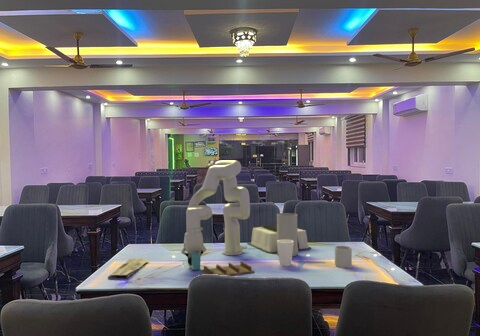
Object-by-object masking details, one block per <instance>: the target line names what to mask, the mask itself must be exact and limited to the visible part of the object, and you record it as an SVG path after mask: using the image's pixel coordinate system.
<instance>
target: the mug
mask: <svg viewBox="0 0 480 336" xmlns="http://www.w3.org/2000/svg"><path fill="white" fill-rule="evenodd" d="M352 251H353V250H352V247H351V246H348V245H336V246H334V266H335V267H338V268H343V269H344V268H345V269H346V268H347V269H348V268H351V267H352V266H353V265H352V264H353V263H352V262H353V261H352V259H353V258H352Z"/></svg>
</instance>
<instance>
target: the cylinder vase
mask: <svg viewBox="0 0 480 336" xmlns="http://www.w3.org/2000/svg"><path fill="white" fill-rule="evenodd" d="M276 225H277V240H292V241H294V246H293V252H292V258H293V257H296V256H297V255H298V253H299V251H298V239H297V228H298V214H297V213H293V212H291V213H290V212H286V213H284V212H281V213H276ZM276 254H277V255H278V247H277V253H276Z"/></svg>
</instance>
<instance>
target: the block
mask: <svg viewBox="0 0 480 336" xmlns="http://www.w3.org/2000/svg"><path fill="white" fill-rule="evenodd" d="M190 257H191V265H189V264H188V263H187V266H188V267H189V268H190V269H191V270H192V271H193V270H194V271H195V270H196V271H197V270H201V262H200V261H201V257H200V254H199V253H198V252H191V256H190Z"/></svg>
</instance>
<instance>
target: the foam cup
mask: <svg viewBox="0 0 480 336" xmlns="http://www.w3.org/2000/svg"><path fill="white" fill-rule="evenodd" d="M293 246H294V241H292V240H277V247H278V254H277V255H278V260H279V261H278V262H279V265H280V266H282V267H283V266H285V267H288V266H289V267H290V266H291V265H292V262H293V261H292V260H293V257H292V252H293Z"/></svg>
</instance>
